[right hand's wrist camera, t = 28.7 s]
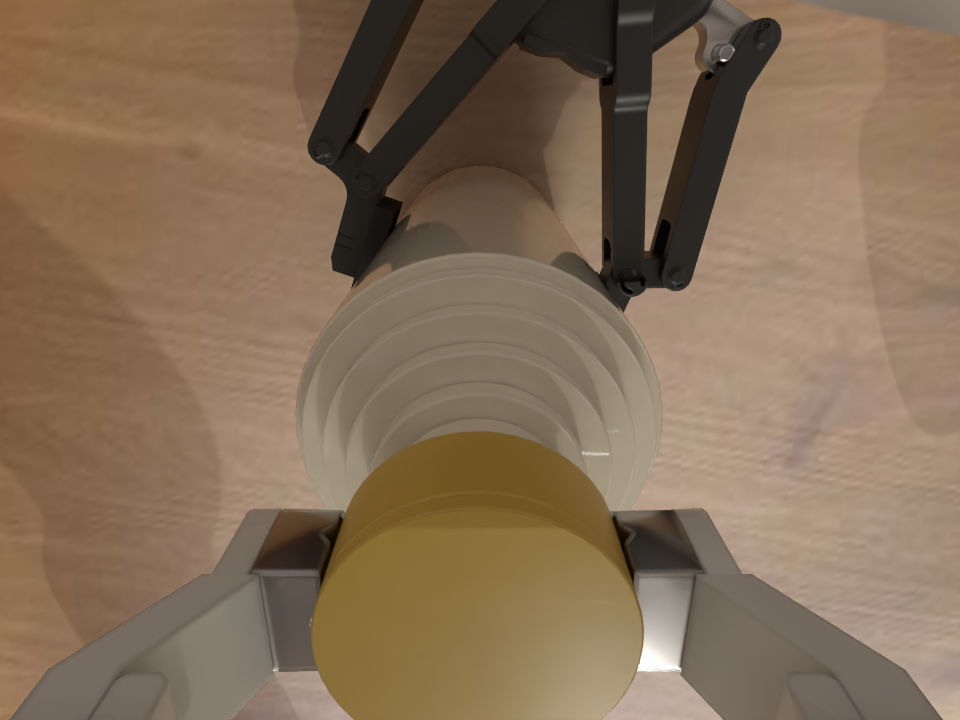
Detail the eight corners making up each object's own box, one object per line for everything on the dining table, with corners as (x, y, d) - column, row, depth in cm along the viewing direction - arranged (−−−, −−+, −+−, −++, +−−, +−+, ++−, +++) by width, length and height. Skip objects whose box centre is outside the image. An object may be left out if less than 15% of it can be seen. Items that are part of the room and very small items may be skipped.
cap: (370, 398, 9) (343, 471, 7) (655, 466, 10) (696, 551, 8) (319, 624, 11) (286, 730, 9) (566, 674, 11) (583, 786, 9)
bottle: (378, 191, 31) (87, 437, 8) (538, 144, 30) (719, 268, 7) (428, 340, 34) (317, 832, 11) (575, 301, 33) (789, 744, 10)
